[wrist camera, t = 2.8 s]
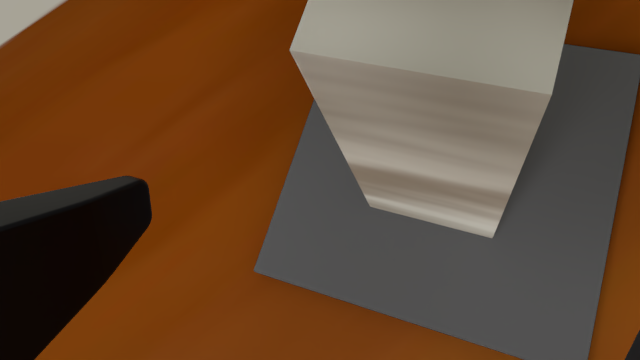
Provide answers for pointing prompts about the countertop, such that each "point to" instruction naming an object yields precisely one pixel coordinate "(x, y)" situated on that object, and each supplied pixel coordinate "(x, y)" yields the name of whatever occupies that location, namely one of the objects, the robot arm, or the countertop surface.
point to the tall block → (433, 97)
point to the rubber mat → (467, 248)
